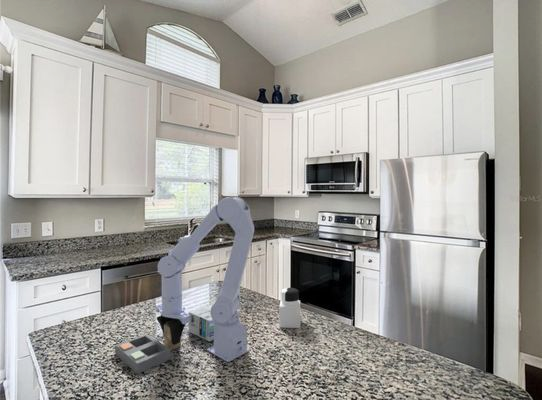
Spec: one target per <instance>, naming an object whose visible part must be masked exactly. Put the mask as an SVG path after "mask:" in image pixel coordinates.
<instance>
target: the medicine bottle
mask: <svg viewBox="0 0 542 400" xmlns="http://www.w3.org/2000/svg"><path fill="white" fill-rule="evenodd" d="M280 293H281V295H280V297H281V299H280V301H279V306H278V314H279V315H278V324H279V325H278V327H279V328H282V329H301V300H299V299H300V298H299V297H300V295H299V290H298V289H297V288H294V287H285V288H282V290H281V291H280Z"/></svg>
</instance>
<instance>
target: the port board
mask: <svg viewBox="0 0 542 400" xmlns="http://www.w3.org/2000/svg"><path fill="white" fill-rule="evenodd" d="M114 350H115V351H114V353H115V356H116V357H118V358H119V360H120V361H122V362H123V363H125V365H127V366H128V368H130V369H131V370H133V372H135V374H137V375H138V374H140V373H143V372H145V371H148V370H149V369H152V368H154V367H156V366H158V365H160V364H163V363H165V362H167V361H169V360H171V356H172V355H171V351H172V350H170V349H169V348H167V347H166V346H164V343H161V342H160V341H159V340H157V339H156V338H154V337H152V336H151V335H149V334H147V333H145V334H142V335H139V336H137V337H133V338H131V339H129V340H127V341H123V342H119V343H117V344H115V346H114Z"/></svg>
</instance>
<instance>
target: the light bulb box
mask: <svg viewBox="0 0 542 400" xmlns="http://www.w3.org/2000/svg"><path fill="white" fill-rule="evenodd" d="M213 304H214V303H212V304H209V305H206V306H203V307H200V308H196V309H194V310H191V311H189V312H188V315H189V316H190V322H189V323H188V332H189V333H190V334H193V335H195V336H197V337H199V338H201V339H202V340H205V341H207V342H212V341H214V320H213V319H212V317H211V313H210V311H211V307H212V306H213Z"/></svg>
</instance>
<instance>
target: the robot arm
mask: <svg viewBox="0 0 542 400" xmlns="http://www.w3.org/2000/svg"><path fill="white" fill-rule="evenodd" d="M251 215H252V214H251V210H250V206H249V205H248V204H247V203H246V202H245V200H244V199H243V198H242V197H238V196H235V197H230V196H228V197H223V198H222V199H220V200H219V202H218V203H217V204H215V205H214V206H213V207H212V208H211V210H210V211H209V212H208V213H207V215H206V216H205V217H204V218H203V220H202V221H201V222H200V223H199V224H198V226H196V228H195V229H194V231H193V232H192V233H191V234H190V235H184V236H182V237H179V239H177V244H176V245H175V246H174V247H173V248H171V249H170V250H168V252H167V254H168V255H166V256H163V257H161V258H160V260H159V261H158V263H157V272H158V273H159V274H160V276H161V303H160V304H157V305H156V306H155V312H156V313H159V314H160V315H159V316H157V317H156V320H157V322H158V324H159V325H160V328H161V331H162V335H163V336H164V324H166V322H167V324H168V326H169V328H170V331H171V339H172V344H173V345H175V344H178V343H180V340H181V339H182V335H183V331H184V329H185V327H186V325H187V324H189V322H190V316H189V313H187V312H186V311H185V310H186V306H183V281H182V280H183V279H182V278H183V277H182V276H183V274H182V273H183V271H184V269H185V267H186V264H187V263H188V262H189V260H191V258H192V257H193V256H195V254H196V253H197V252H198V251H199V250H200V247H201V246H200V242H201V241H202V240H203V239H204V238H205V237H206V236H207V235H208V234H209V233H210V232H211V231H212V230H213V229H214V228H215V227H216V225H218V224H220V223H223V222H226V223H227V224H228V225H230V228H231V229H232V230H233V232H234V234H235V235H234V237H233V238H234V239H233V242H232V248H231V251H230V254H229V257H228V262H227V266H226V270H225V274H224V279H223V282H222V285H221V288H220V290H219V293H218V295H217V298H216V301H215V302H214V303H212V304H213V306H212V307H211V311H210V313H211V317H212V319H213V320H214V340H213V345H212V346H210V347H208V348H207V351H208V352H210V353H211V354H213V355H215V356H217V357H218V358H220V359H221V360H223V361H225V362H227V363H229V362H231V361H233V360H235V359H237V358H238V357H241V356H242V355H244V354H246V353H249V351H250V348H248V331H247V328H246V326H245V325H244V324H243V323H242V322H241V321H240V316H239V313H238V310H239V309H240V306H241V284H242V280H243V277H244V272H245V269H246V264H247V261H248V258H249V253H250V250H251V249H250V248H251V246H252V241H253V237H254V234H255V233H254V232H255V225H254V222H253V218H252V216H251ZM171 320H172V321H171ZM168 321H169V322H168Z"/></svg>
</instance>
